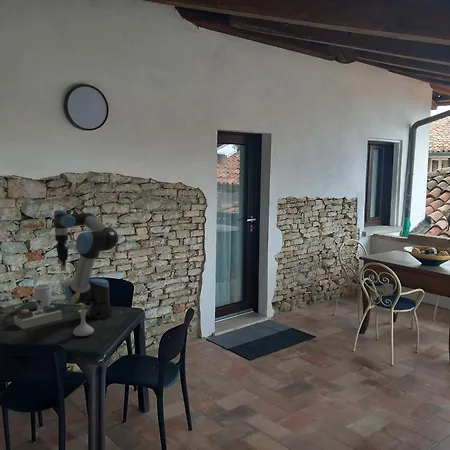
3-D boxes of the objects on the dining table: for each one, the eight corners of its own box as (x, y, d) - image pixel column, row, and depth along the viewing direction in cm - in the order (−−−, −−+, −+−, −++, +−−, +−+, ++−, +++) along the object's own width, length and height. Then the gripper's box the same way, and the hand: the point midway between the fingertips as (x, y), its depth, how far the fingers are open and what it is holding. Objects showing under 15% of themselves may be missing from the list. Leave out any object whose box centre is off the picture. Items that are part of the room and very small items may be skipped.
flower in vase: (86, 329, 272) (84, 287, 269) (98, 333, 265) (96, 290, 262) (66, 335, 262) (64, 292, 259) (78, 340, 255) (76, 295, 252)
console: (62, 319, 290) (61, 307, 289) (23, 329, 273) (22, 316, 272) (52, 314, 298) (52, 303, 297) (14, 324, 281) (13, 312, 280)
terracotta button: (30, 313, 279) (30, 310, 279) (22, 315, 276) (22, 312, 275) (26, 311, 282) (26, 308, 282) (19, 313, 279) (19, 310, 278)
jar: (46, 311, 305) (44, 288, 303) (31, 310, 307) (30, 288, 305) (55, 306, 315) (54, 284, 313) (41, 305, 317) (40, 283, 315)
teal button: (55, 309, 290) (55, 306, 290) (49, 311, 287) (48, 307, 287) (52, 307, 293) (52, 304, 293) (45, 309, 290) (45, 306, 290)
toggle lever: (40, 312, 285) (41, 300, 282) (37, 312, 283) (38, 301, 280) (39, 310, 286) (40, 298, 283) (35, 311, 284) (36, 299, 282)
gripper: (51, 233, 302) (53, 269, 306) (60, 236, 293) (62, 273, 297) (62, 232, 308) (63, 268, 311) (72, 234, 299) (73, 271, 302)
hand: (63, 270), depth 304 cm, fingers closed
